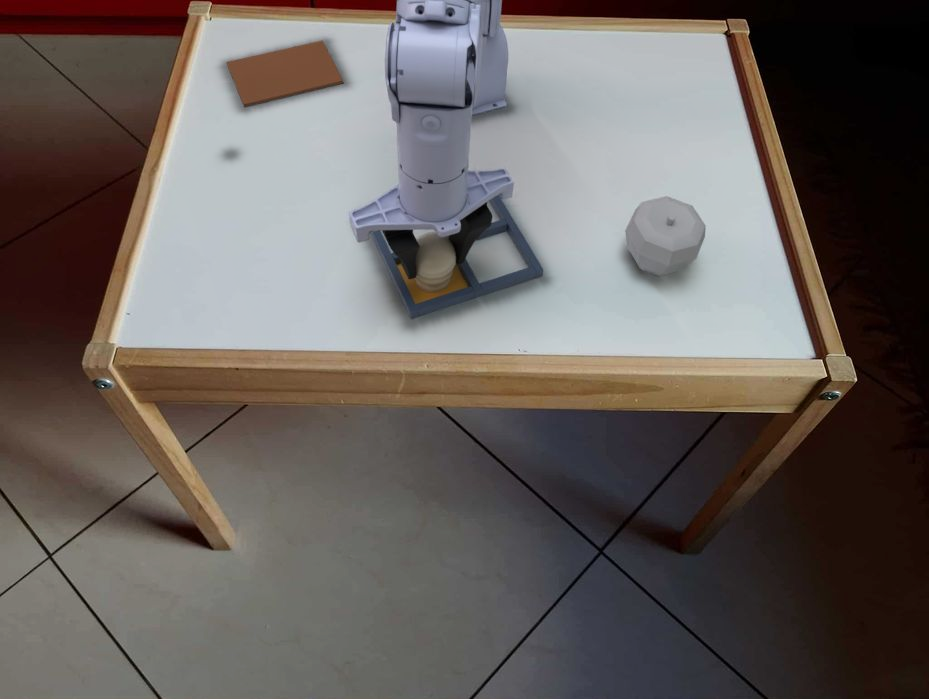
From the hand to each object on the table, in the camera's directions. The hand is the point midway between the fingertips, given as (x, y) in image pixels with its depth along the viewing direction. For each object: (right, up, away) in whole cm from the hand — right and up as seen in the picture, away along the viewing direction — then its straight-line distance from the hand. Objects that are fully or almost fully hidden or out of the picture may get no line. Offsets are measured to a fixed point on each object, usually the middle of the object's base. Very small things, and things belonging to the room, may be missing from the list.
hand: (432, 263), depth 72 cm
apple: (+23, +1, +5) cm, 23 cm away
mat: (-18, +25, +18) cm, 36 cm away
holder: (+2, +2, +5) cm, 6 cm away
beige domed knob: (0, -1, +2) cm, 2 cm away
